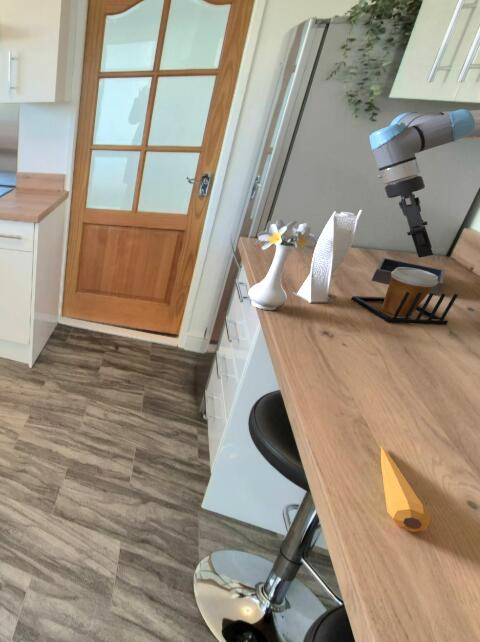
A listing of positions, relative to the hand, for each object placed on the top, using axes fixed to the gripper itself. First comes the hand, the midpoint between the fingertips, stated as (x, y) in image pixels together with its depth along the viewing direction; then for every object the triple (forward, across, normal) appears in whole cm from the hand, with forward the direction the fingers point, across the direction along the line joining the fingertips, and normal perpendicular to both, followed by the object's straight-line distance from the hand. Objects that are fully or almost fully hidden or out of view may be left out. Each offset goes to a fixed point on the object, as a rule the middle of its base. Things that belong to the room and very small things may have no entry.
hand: (425, 252), depth 119 cm
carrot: (+24, +86, -10) cm, 89 cm away
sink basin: (+12, -25, -7) cm, 28 cm away
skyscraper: (+5, +13, -25) cm, 29 cm away
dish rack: (+14, +6, -9) cm, 18 cm away
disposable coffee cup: (+14, +6, -9) cm, 18 cm away
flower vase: (+1, +28, -34) cm, 44 cm away
